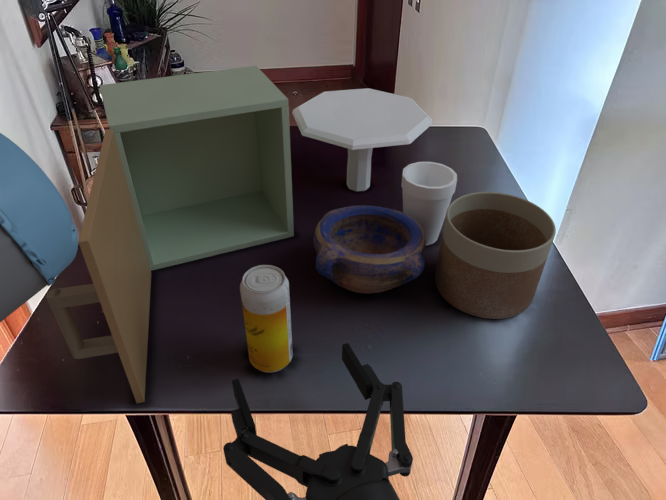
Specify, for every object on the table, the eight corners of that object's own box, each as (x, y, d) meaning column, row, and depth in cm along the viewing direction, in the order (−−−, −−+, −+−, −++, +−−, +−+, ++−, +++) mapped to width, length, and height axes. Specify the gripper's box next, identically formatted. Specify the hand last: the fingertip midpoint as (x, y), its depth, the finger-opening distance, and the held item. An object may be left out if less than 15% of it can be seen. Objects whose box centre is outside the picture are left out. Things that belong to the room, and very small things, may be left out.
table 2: (279, 214, 102) (274, 136, 91) (307, 150, 124) (305, 81, 113) (422, 229, 98) (433, 149, 88) (424, 160, 120) (434, 90, 110)
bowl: (416, 245, 94) (422, 199, 88) (423, 315, 80) (432, 265, 74) (318, 240, 95) (318, 194, 89) (308, 308, 81) (307, 259, 75)
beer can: (249, 344, 75) (239, 264, 66) (291, 340, 75) (287, 261, 66) (249, 377, 70) (238, 296, 61) (293, 373, 71) (289, 293, 61)
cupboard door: (88, 412, 65) (13, 249, 49) (108, 279, 85) (59, 133, 70) (144, 402, 67) (88, 240, 51) (151, 273, 87) (113, 128, 71)
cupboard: (294, 236, 96) (288, 99, 80) (147, 271, 87) (108, 125, 71) (266, 192, 108) (256, 65, 92) (135, 219, 100) (99, 84, 83)
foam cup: (399, 250, 93) (406, 188, 85) (392, 221, 100) (398, 161, 92) (451, 250, 93) (463, 188, 85) (440, 221, 101) (451, 161, 93)
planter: (532, 332, 77) (558, 261, 69) (427, 309, 81) (439, 239, 73) (532, 268, 89) (554, 200, 81) (440, 250, 93) (452, 184, 85)
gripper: (241, 625, 44) (191, 423, 59) (483, 508, 52) (383, 357, 67) (232, 591, 39) (180, 381, 54) (498, 468, 47) (388, 316, 63)
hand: (292, 368), depth 61 cm, fingers open, 13 cm apart
